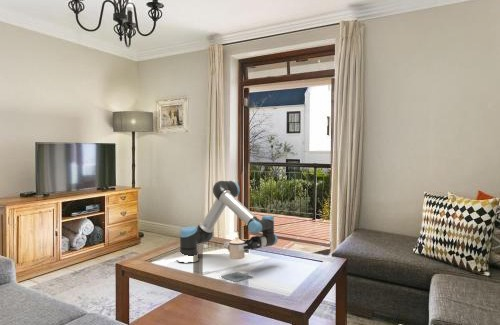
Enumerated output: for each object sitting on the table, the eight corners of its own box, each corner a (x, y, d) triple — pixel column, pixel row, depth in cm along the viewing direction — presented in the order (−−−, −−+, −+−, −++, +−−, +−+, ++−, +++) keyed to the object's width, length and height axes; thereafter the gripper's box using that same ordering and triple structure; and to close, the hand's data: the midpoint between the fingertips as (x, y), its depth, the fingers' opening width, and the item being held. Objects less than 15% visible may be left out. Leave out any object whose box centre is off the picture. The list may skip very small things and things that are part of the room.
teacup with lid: (248, 257, 179) (248, 237, 180) (237, 260, 172) (237, 239, 173) (233, 254, 187) (233, 235, 188) (222, 257, 180) (222, 236, 181)
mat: (218, 277, 179) (218, 276, 179) (237, 272, 189) (237, 271, 189) (234, 282, 169) (234, 281, 169) (253, 277, 179) (253, 276, 179)
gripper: (272, 250, 184) (245, 256, 169) (244, 245, 201) (218, 250, 186) (272, 238, 184) (245, 242, 169) (244, 233, 202) (218, 237, 187)
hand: (231, 246), depth 178 cm, fingers closed on teacup with lid, 12 cm apart
